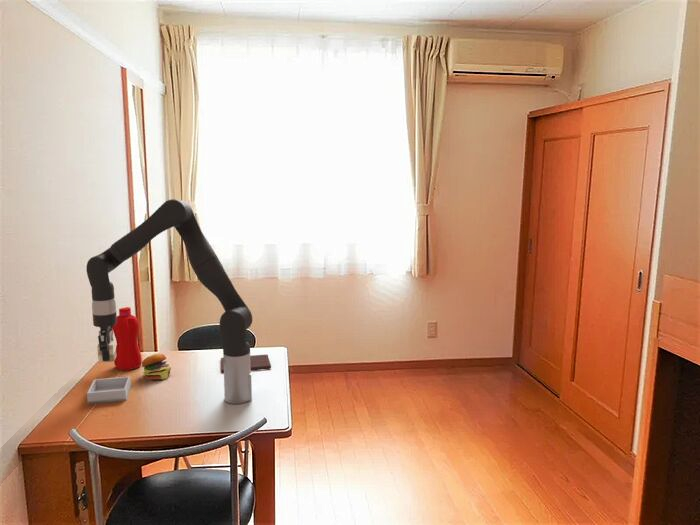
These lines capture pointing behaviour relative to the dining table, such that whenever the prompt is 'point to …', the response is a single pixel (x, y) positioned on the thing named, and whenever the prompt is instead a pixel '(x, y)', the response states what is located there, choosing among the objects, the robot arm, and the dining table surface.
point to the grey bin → (109, 390)
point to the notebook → (254, 362)
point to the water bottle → (127, 340)
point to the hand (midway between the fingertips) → (107, 357)
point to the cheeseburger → (156, 367)
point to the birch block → (111, 352)
